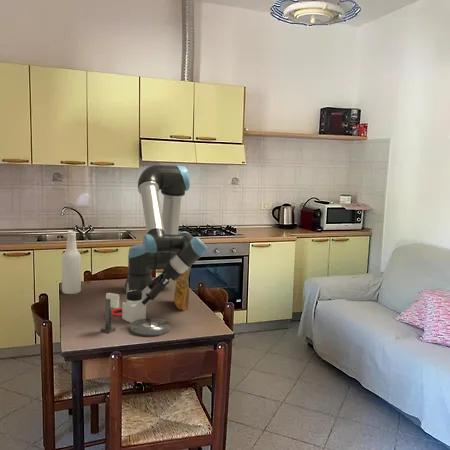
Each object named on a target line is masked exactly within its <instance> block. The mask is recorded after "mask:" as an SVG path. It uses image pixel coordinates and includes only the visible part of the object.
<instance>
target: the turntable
mask: <svg viewBox="0 0 450 450" xmlns="http://www.w3.org/2000/svg"><path fill="white" fill-rule="evenodd" d="M170 324H171V323H169V322H168V321H167V320H165V319H162V318H154V317H146V318H145V319H139V320H136V321H133V322H132V323H130V325H129V326H130V327H129V328H130V332H131V333H132V334H133V335H136V336H139V337H159V336H163V335H165V334H168V333H169V332H170Z"/></svg>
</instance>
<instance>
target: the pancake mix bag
mask: <svg viewBox="0 0 450 450" xmlns="http://www.w3.org/2000/svg"><path fill="white" fill-rule="evenodd" d="M192 265H193V264H192ZM192 265H191V266H190V267H189V268H188V271H186V270H185V272H184V273H183V274H182V273H181V276H180V277H179V278H178V279H177V280H175V281H176V282H175V289H174V293H173V294H174V295H173V296H174V297H173V302H174V305H175V306H176V307H177V309H178V311H187V310H188V309H189V301H190V300H189V299H190V283H189V277H190V273H191V270H192Z"/></svg>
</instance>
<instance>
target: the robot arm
mask: <svg viewBox="0 0 450 450" xmlns="http://www.w3.org/2000/svg"><path fill="white" fill-rule="evenodd" d="M190 179H191V178H190V174H189V171H188V168H187V167H185V166H184V165H183V166H181V165H177V164H174V165H172V164H171V165H170V164H169V165H166V164H165V165H164V164H163V165H162V164H153V165H149V166H148V167H146V168H145V169H144V170H143V171H142V172H141V173H140V176H139V178H138V179H137V189H138V190H137V191H138V193H139V194H140V197H141V203H142V211H143V215H144V223H145V230H146V234H144V235H143V237H142V243H140V244H134V245H132V246H131V247H129V248H128V253H127V254H128V255H127V259H128V260H127V262H128V263H127V264H128V265H127V278H126V281H125V284H124V286H123V287H124V289H123V292H124V293H126V287H127V283H128V285H129V291H131V290H139V291H141V292H142V300H140V301H139V302H138V303H137V304H136V305H135V306H134V307H135V308H136V309H137V310H138V311H140V310H141V309H142V308H143V307H144V306H145V305H146V306H147V305H148V304H149V303H150V302H151V301H154V300H155V298H157V296H158V295H159V294H160V293H161V292H162V291H163V290H164V288H165V287H166V286H167V285H169V284H170V281H169V280H170V279H171V280H172V281H176V280H177V279H178V278H179V277H180V276H181V273H182V274H183V273H184V272H185V270H186V271H188V268H189V267H190V266H191V265H194V264H195V263H196V262H197V261H198V260H199V259H200V258H201V257H203V255H204V254H205V253H206V252H207V251H208V246H207V245H206V244H205V243H204V241H203V240H201V239H200V237H199V236H195V237H194V236H193V235H192V234H191V233H190V232H188V231H181V232H179V228H180V227H179V225H180V215H181V203H182V197H184V196H185V195H186V191H189V189H190V187H191V183H190V182H191V180H190ZM159 191H160V194H161V195H163V202H162V210H161V205H160V203H161V202H160V197H159ZM191 267H192V266H191ZM153 271H162V272H161V273H160V274H159V275H157V276H156V277H155V278H154V279H153V275H152V272H153Z"/></svg>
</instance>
